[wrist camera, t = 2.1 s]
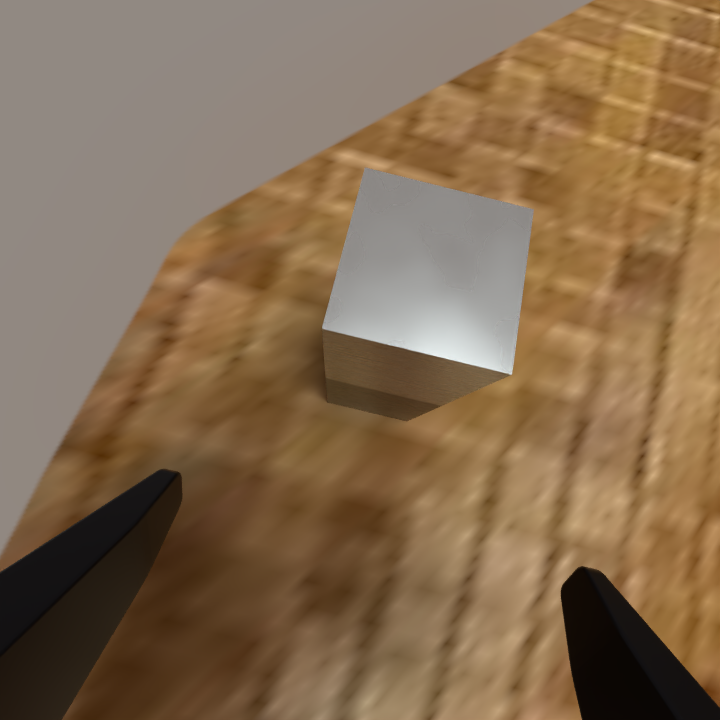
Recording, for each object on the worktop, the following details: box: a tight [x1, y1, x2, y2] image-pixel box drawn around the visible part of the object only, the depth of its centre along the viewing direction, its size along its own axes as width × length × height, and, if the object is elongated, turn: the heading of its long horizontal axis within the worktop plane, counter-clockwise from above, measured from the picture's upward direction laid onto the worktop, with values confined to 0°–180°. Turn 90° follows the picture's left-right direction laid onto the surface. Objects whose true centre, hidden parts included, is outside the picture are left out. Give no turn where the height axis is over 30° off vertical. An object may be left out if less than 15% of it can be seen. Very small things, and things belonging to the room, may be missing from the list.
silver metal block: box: [322, 168, 534, 421], centre depth 16 cm, size 5×5×13 cm
